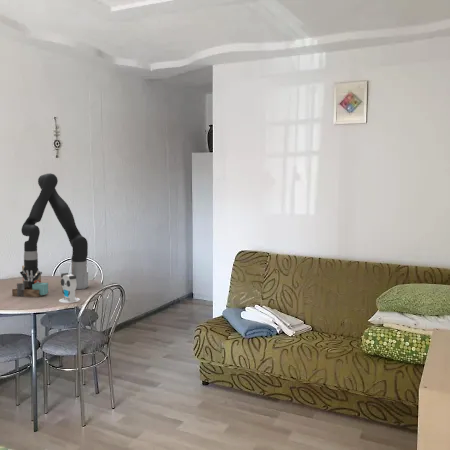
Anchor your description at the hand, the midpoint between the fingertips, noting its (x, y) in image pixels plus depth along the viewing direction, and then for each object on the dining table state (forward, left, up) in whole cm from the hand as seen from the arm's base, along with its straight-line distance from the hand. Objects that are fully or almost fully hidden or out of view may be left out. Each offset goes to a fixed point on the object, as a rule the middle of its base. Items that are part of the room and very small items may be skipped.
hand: (31, 287), depth 282 cm
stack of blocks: (+10, -21, -5) cm, 24 cm away
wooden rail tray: (+1, 0, -5) cm, 5 cm away
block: (-6, 0, -4) cm, 7 cm away
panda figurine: (-27, +8, -5) cm, 28 cm away
